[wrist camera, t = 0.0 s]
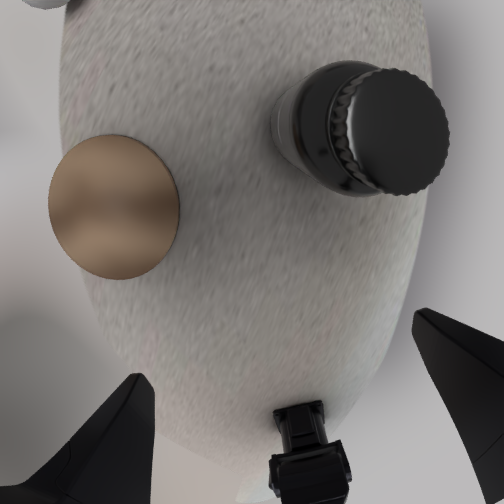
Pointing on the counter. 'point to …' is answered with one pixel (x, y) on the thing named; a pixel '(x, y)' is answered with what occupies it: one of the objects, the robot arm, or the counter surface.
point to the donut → (46, 3)
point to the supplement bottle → (362, 129)
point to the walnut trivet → (113, 207)
